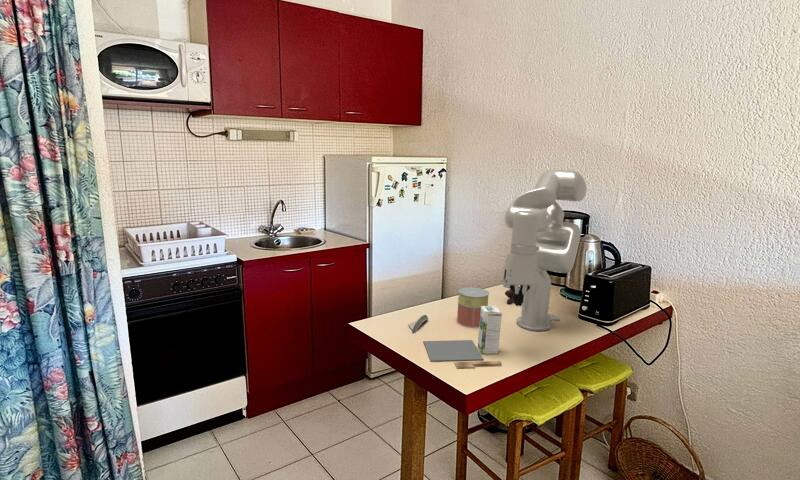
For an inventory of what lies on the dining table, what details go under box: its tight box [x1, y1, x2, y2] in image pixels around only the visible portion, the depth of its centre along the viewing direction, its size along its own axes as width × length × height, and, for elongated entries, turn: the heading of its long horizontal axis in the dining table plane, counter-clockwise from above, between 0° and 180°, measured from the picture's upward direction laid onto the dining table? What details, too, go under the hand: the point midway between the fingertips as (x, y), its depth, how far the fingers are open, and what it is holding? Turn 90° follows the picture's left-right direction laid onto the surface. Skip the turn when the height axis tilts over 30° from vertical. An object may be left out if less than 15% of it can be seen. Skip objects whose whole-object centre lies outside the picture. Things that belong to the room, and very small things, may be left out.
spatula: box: [453, 360, 503, 370], centre depth 140 cm, size 14×4×1 cm, turn 96°
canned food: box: [456, 286, 490, 329], centre depth 172 cm, size 11×11×12 cm
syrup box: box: [477, 305, 503, 355], centre depth 149 cm, size 6×6×14 cm
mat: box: [423, 339, 485, 363], centre depth 149 cm, size 17×14×1 cm
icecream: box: [504, 286, 520, 305], centre depth 198 cm, size 7×7×15 cm
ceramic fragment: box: [407, 314, 429, 334], centre depth 168 cm, size 14×5×4 cm, turn 154°
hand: (517, 304), depth 147 cm, fingers closed
